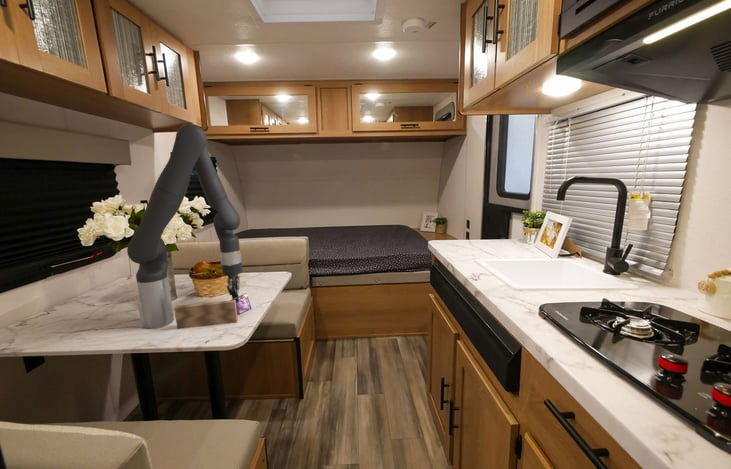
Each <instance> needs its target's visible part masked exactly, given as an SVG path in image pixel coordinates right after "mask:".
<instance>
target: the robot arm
mask: <svg viewBox="0 0 731 469" xmlns="http://www.w3.org/2000/svg"><path fill="white" fill-rule="evenodd" d="M194 169H195V171H196V175H197V178H198V180H199V182H200V186H201V189H202V191H203V193H204V196H205V198H206V201H207V203H208V205H209V206H210V207H211V209H213V210H215V211H216V214H215V215H214V218H213V227H214V230H215V233H216V237H217V238H218V241H219V250H220V264H221V272H222V273H221V274H222V276H227V279H226V282H227V286H226V289H227V291H228V294H229V296H231V299H234V298H236V297H238V296H239V293H240V291H239V290H240V279H241V278H240V275H239V274H242V273H243V270H244V269H243V262H242V254H241V250H240V240H239V237H238V236H237V235H236V234H234V230H235V231H236V230H237V229H238V228H239V227H240V224H241V218H240V215H239V213H238V211H237V209H236V208H235V207H234V205H233V203H232V202H231V201H230V199H229V197H228V194H227V192H226V189H225V187H224V185H223V182H222V181H221V178H220V176H219V174H218V173H217V170H216V169H215V166H214V163H213V161H212V158H211V156H210V153H209V147H208V136H207V134H206V132H205V131H204V130H203V129H202V128H201V127H200V126H198V125H195V124H193V123H192V124H190V123H189V124H188V123H186V124H184V125H181V126H180V127H179V128H178V129H177V131H176V133H175V137H174V142H173V146H172V149H171V153H170V157H169V158H168V161H167V163H166V165H165V166H164V168H163V169H162V171H161V173H160V174H159V176H158V178H157V181H156V182H155V185H154V187H153V190H152V191H151V194H150V197H149V200H148V203H147V205H146V208H145V209H144V213H143V215H142V218H141V220H140V223H139V225H138V227H137V228H136V231H135V232H134V234H133V235H132V237H131V240H130V241H129V243H128V245H127V248H126V252H127V256H128V257H129V260H130V261H132V262H133V263H135V264H139V265H138V269H137V272H136V274H135V278H136V284H137V285H136V286H137V290H138V295H139V301H138V303H137V306H138V313H139V318H140V324H141V328H146V329H157V328H158V329H159V328H163V327H165V326H168V325H169V324H171V323H172V322H174V319H175V318H174V312H173V305H172V297H171V291H170V286H169V279H168V278H169V277H168V268H169V263H168V254H167V253H168V252H167V246H166V243H165V241H164V239H163V238H162V235H163V233H164V231H165V229H166V227H167V226H168V225H169V224H170V222H171V221H172V219H173V218H175V217H174V216H176V214H177V213H178V211H179V209H180V208H181V205H182V203H183V200H184V198H185V197H186V193H187V190H188V187H189V184H190V181H191V178H192V177H191V176H192V172H193V171H194ZM235 300H236V303H237V302H238V301H240V300H238V298H236V299H235Z"/></svg>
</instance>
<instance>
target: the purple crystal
mask: <svg viewBox="0 0 731 469" xmlns="http://www.w3.org/2000/svg"><path fill="white" fill-rule="evenodd" d="M236 298H238V300H239V301H238V302H237V303H236V309H237V317H238V316H240V315H242V314H244V313H246V312H248V311H251V310H252V305H251V302H250V300H249V297H248V294H247V293H244V294H241V295H238V297H236ZM236 298H234V299H232V298H231V299H229V300H228V301H232V300H235V299H236ZM243 299H244V300H245V301H246V302H244V300H243ZM245 303H246V304H247V309H246V310H244V311H241V312H240V310H242V309H244V307H245Z"/></svg>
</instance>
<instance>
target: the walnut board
mask: <svg viewBox="0 0 731 469" xmlns="http://www.w3.org/2000/svg"><path fill="white" fill-rule="evenodd" d="M173 309H174V316H175V323H176V329H177V330H180V329H191V328H199V327H208V326H216V325H217V326H218V325H228V324H234V323H235V324H236V323H238V316H237V309H236V300H232V301H229V300H223V301H213V302H211V301H210V302H201V303H191V304H183V305H175V307H173Z"/></svg>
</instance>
